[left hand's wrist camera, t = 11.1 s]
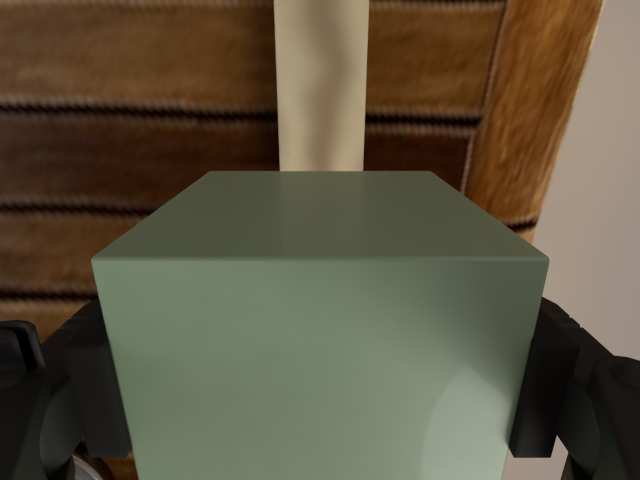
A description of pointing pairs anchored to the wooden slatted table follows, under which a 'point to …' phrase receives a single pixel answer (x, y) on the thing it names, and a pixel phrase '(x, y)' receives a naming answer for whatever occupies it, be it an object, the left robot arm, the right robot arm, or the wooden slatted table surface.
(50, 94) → the wooden slatted table surface
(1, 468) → the left robot arm
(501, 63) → the wooden slatted table surface
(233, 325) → the green block
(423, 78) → the wooden slatted table surface
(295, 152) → the birch board
